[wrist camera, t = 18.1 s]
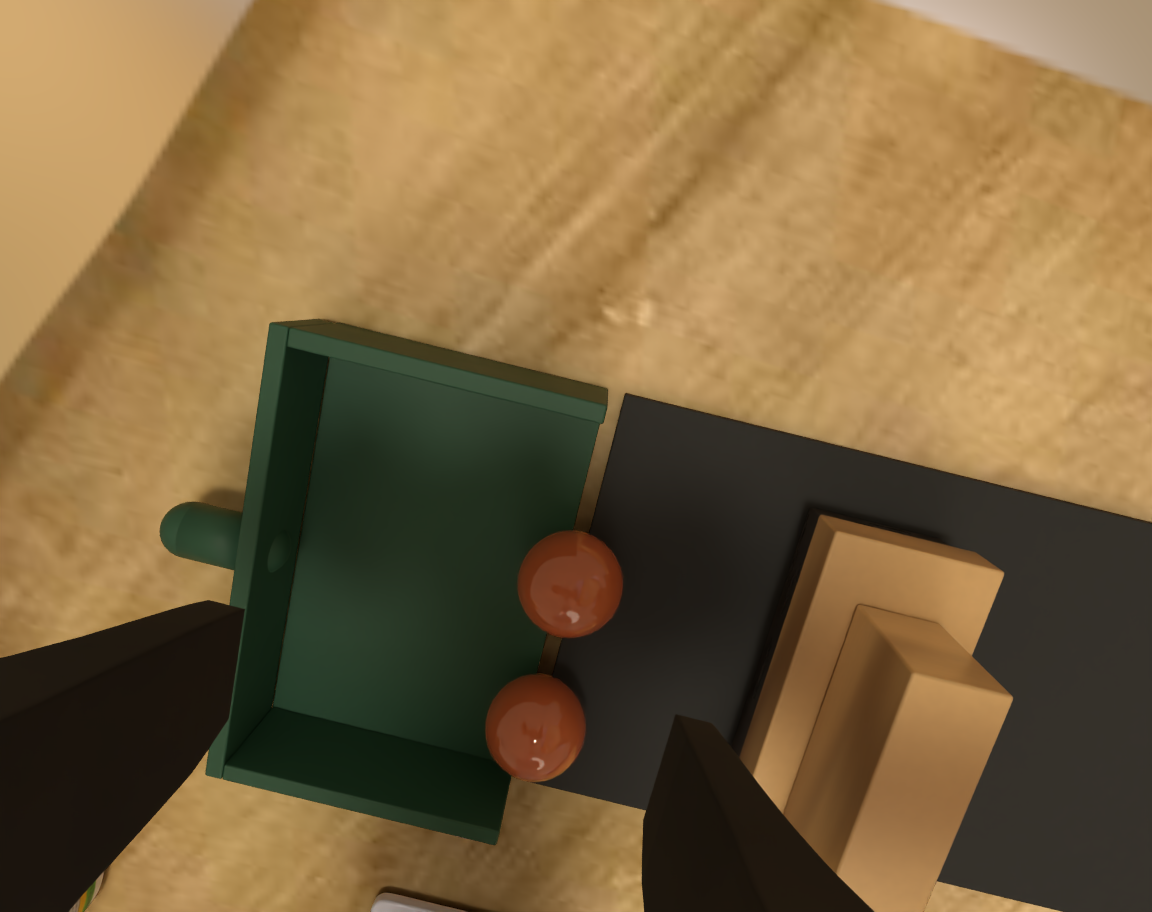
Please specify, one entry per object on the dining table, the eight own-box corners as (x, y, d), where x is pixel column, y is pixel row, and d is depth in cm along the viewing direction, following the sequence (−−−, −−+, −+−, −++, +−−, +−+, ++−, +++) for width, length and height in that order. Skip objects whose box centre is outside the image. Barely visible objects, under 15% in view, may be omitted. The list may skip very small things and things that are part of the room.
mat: (1305, 964, 24) (1314, 973, 23) (526, 775, 24) (525, 781, 23) (1510, 610, 21) (1522, 615, 21) (625, 392, 21) (625, 394, 20)
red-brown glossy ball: (524, 820, 19) (463, 765, 22) (604, 777, 21) (540, 731, 24) (529, 719, 19) (465, 673, 21) (610, 685, 21) (545, 646, 23)
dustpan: (608, 388, 21) (607, 405, 18) (512, 772, 24) (495, 846, 20) (227, 294, 21) (156, 294, 18) (176, 690, 24) (107, 752, 20)
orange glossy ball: (538, 497, 21) (636, 524, 20) (551, 559, 23) (641, 586, 22) (488, 579, 19) (594, 614, 18) (507, 639, 21) (603, 672, 20)
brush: (839, 832, 23) (924, 1033, 17) (706, 800, 23) (742, 988, 17) (951, 534, 21) (1099, 636, 15) (804, 498, 21) (888, 585, 15)
